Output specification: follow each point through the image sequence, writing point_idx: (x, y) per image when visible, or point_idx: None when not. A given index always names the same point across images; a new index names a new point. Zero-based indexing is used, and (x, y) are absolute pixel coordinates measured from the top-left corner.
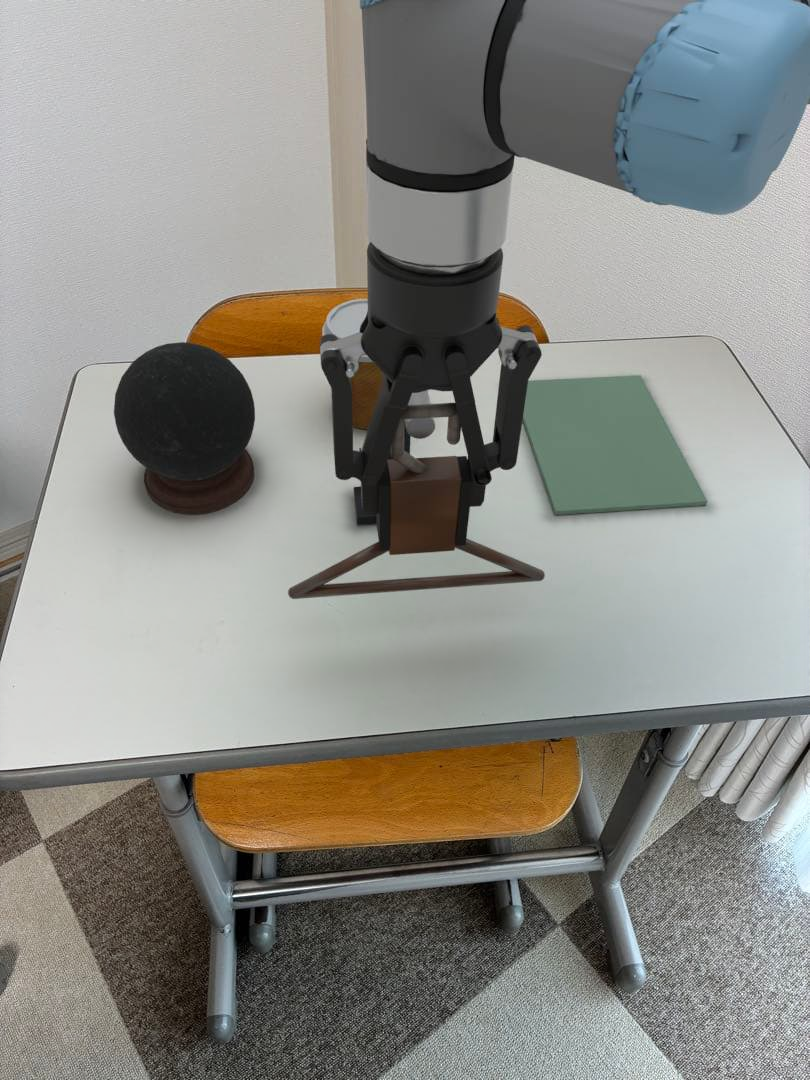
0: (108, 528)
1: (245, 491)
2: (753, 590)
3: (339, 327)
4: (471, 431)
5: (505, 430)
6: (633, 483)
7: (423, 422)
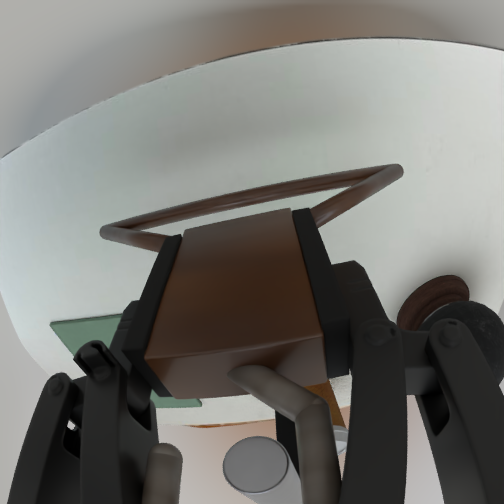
0: (490, 254)
1: (405, 302)
2: (7, 257)
3: (339, 444)
4: (101, 490)
5: (38, 468)
6: (94, 338)
7: (249, 479)
